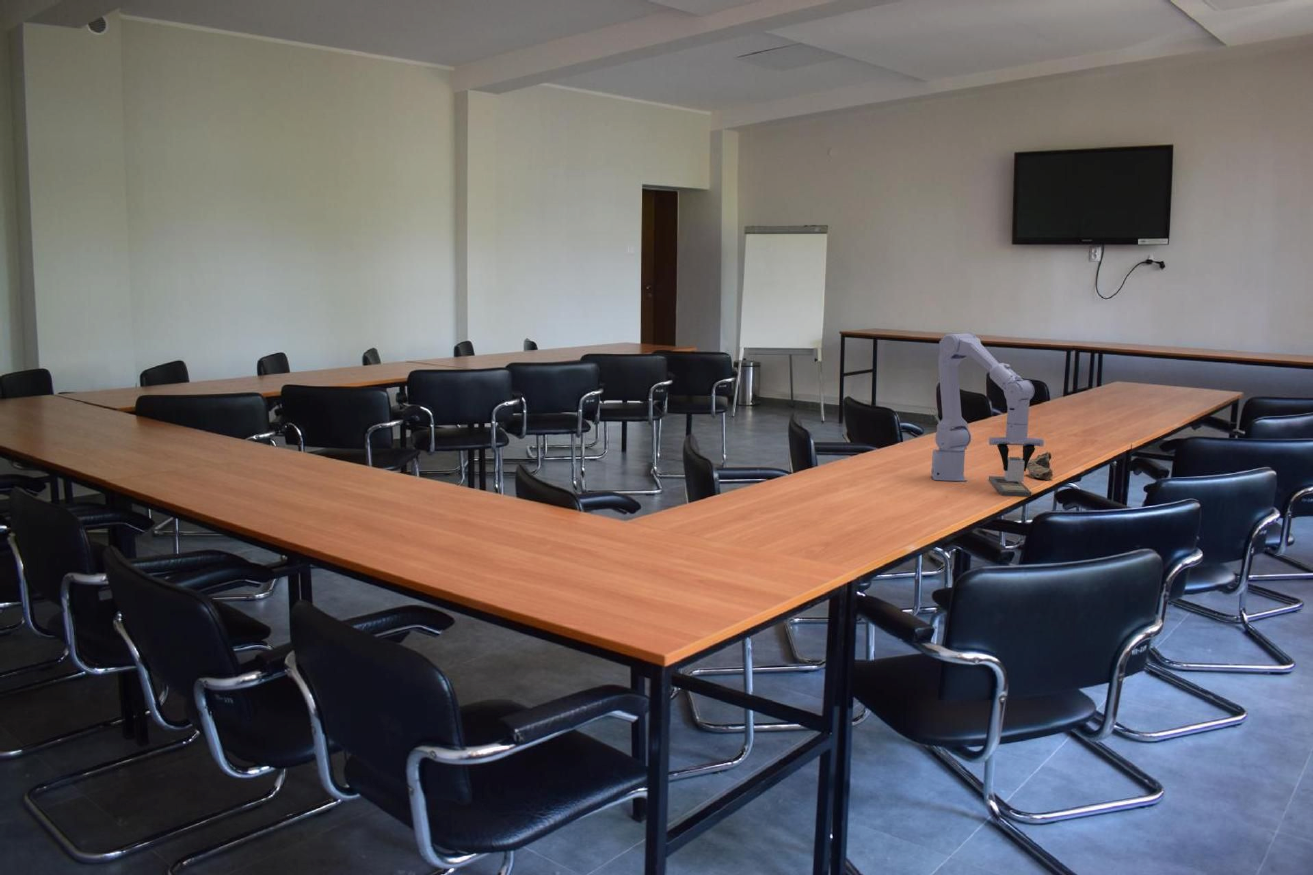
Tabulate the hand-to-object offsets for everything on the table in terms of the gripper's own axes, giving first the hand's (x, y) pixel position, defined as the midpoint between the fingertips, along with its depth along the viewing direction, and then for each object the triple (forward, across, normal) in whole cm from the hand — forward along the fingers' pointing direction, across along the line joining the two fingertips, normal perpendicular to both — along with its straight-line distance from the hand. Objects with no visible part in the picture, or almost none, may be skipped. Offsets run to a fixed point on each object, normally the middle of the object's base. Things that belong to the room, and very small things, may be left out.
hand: (1014, 470), depth 295 cm
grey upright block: (+3, 0, 0) cm, 3 cm away
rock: (+7, +12, +24) cm, 28 cm away
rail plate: (+6, 0, +6) cm, 9 cm away
